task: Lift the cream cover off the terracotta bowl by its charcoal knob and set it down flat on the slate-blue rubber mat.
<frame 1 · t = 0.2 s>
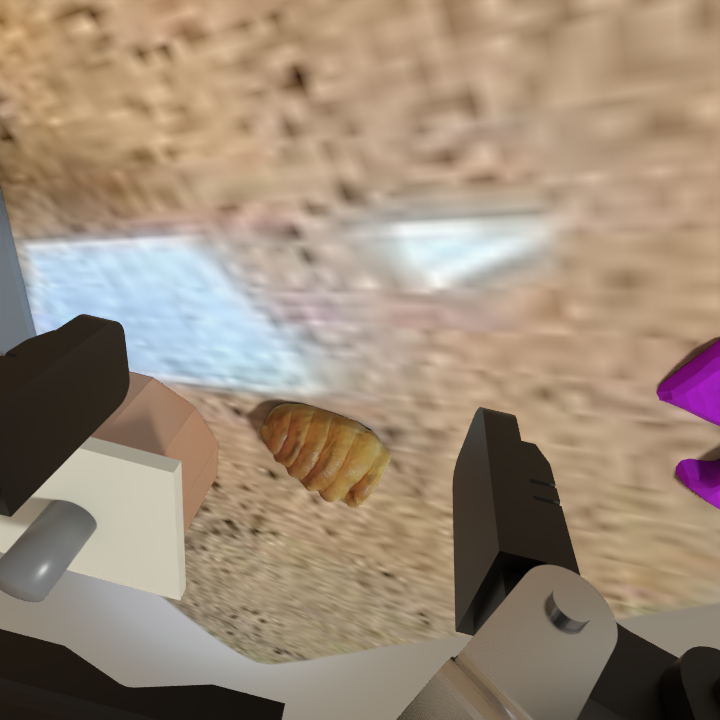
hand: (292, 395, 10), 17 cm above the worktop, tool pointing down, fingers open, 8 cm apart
pastry: (333, 441, 36), on the worktop
bowl: (136, 437, 39), on the worktop
cover: (81, 505, 33), point 7 cm above the worktop, touching bowl
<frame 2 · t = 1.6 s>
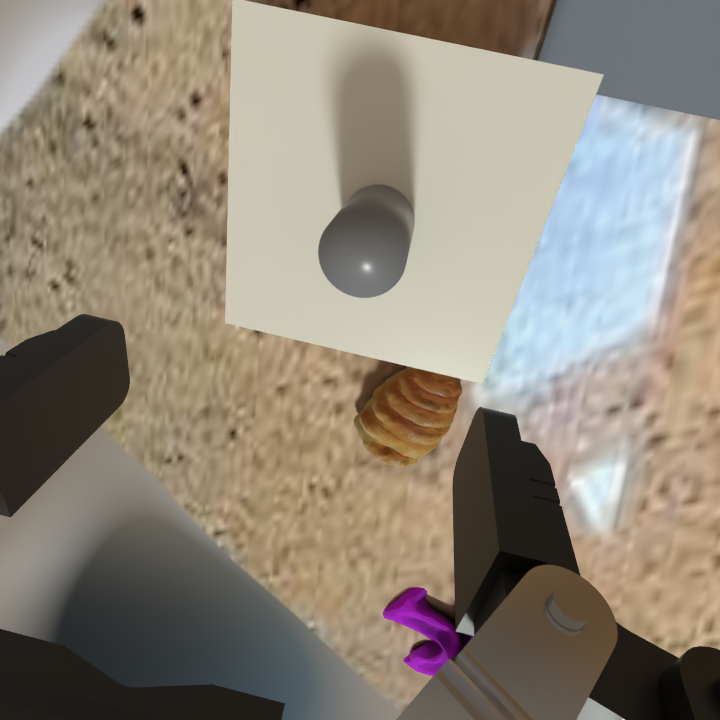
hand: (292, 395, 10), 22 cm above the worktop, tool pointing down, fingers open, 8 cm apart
pastry: (407, 401, 38), on the worktop
cloth: (476, 623, 53), on the worktop
cover: (380, 217, 23), point 7 cm above the worktop, touching bowl
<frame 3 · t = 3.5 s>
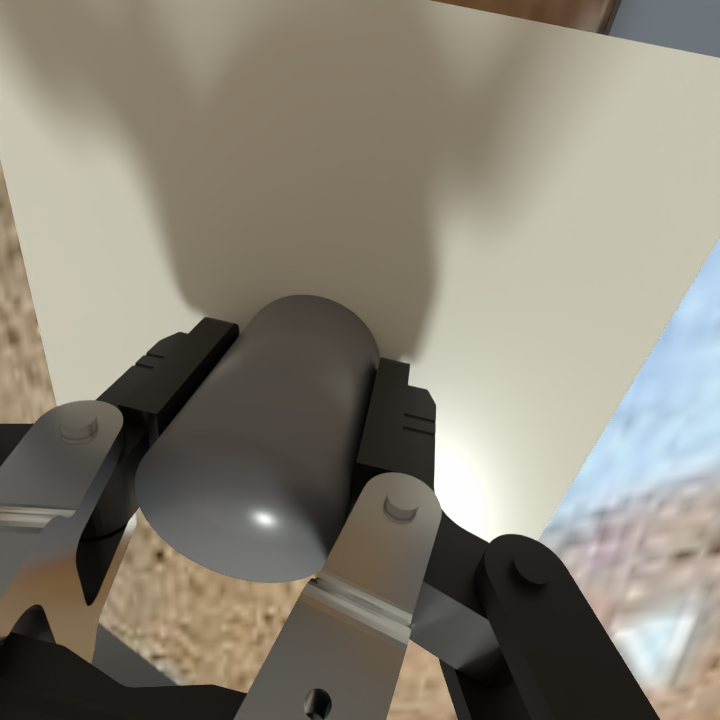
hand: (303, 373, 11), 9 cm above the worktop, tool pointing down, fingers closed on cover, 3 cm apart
cover: (320, 339, 13), point 7 cm above the worktop, touching bowl, gripper
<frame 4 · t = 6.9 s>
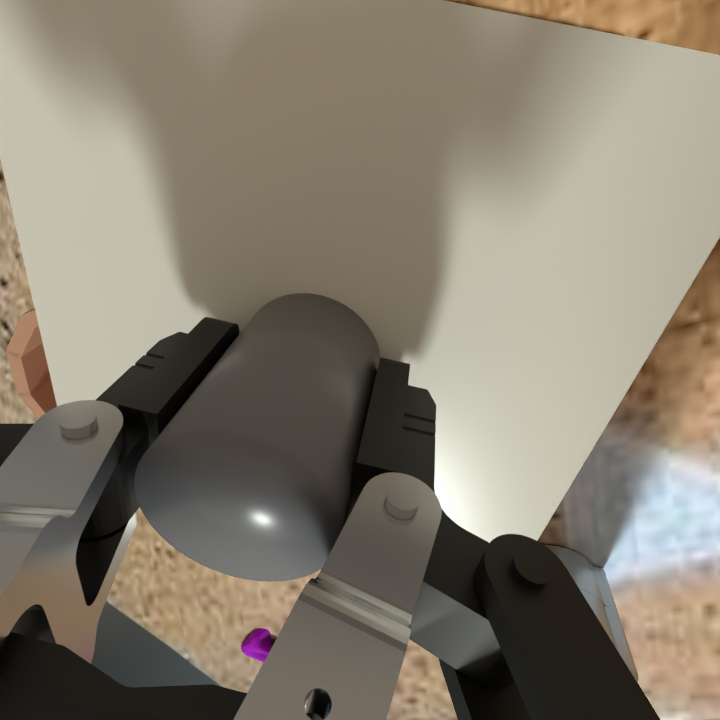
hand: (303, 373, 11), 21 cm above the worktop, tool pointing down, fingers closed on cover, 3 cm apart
bowl: (159, 346, 38), on the worktop
cloth: (319, 656, 62), on the worktop
cover: (320, 338, 13), point 19 cm above the worktop, touching gripper
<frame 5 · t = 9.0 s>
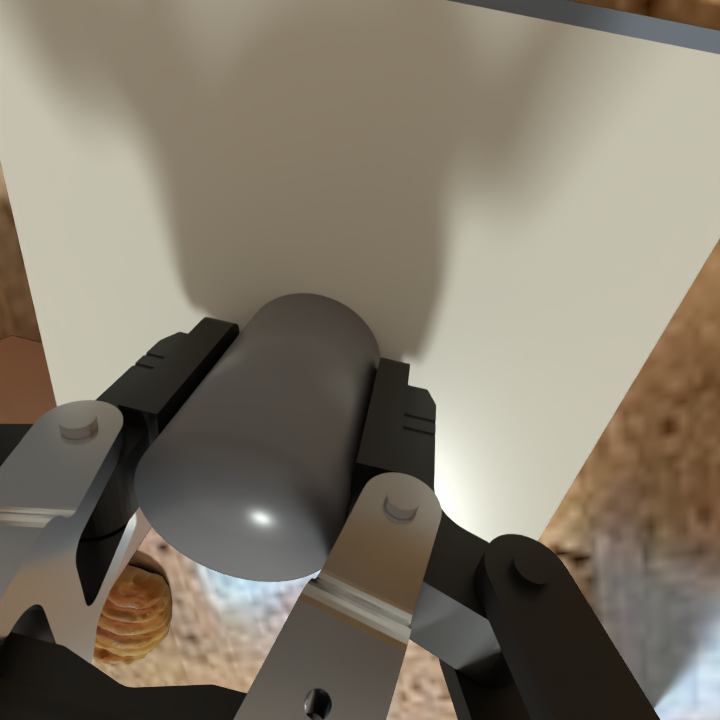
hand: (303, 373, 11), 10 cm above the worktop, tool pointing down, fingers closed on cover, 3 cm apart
pastry: (136, 592, 37), on the worktop
bowl: (66, 440, 29), on the worktop
mat: (368, 248, 19), on the worktop
cover: (320, 338, 13), point 8 cm above the worktop, touching gripper
when the fingers open (4 cm above the worktop, at t = 10.5 s): cover drops 1 cm, resting on mat.
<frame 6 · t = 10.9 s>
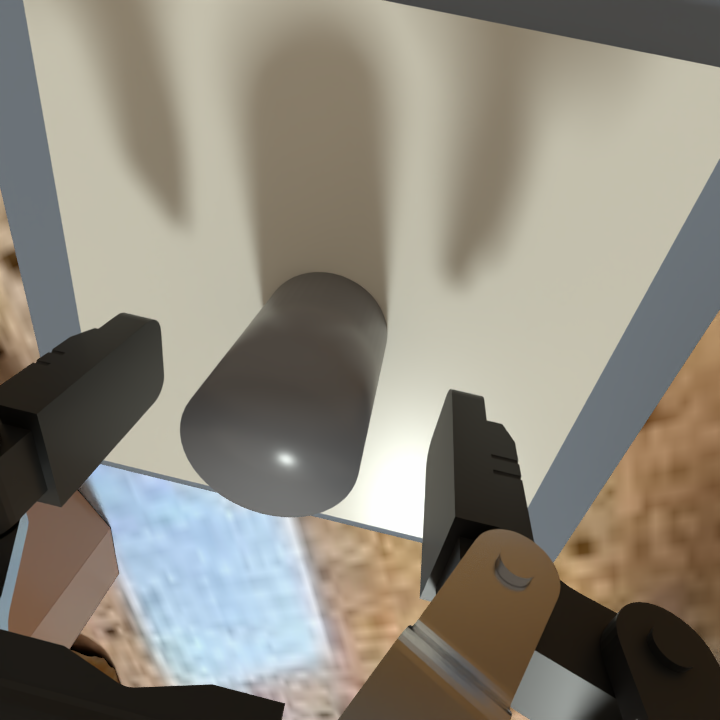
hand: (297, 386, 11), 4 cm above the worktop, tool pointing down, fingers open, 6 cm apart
pastry: (81, 671, 33), on the worktop
mat: (334, 307, 14), on the worktop
cover: (332, 315, 14), point 1 cm above the worktop, touching mat
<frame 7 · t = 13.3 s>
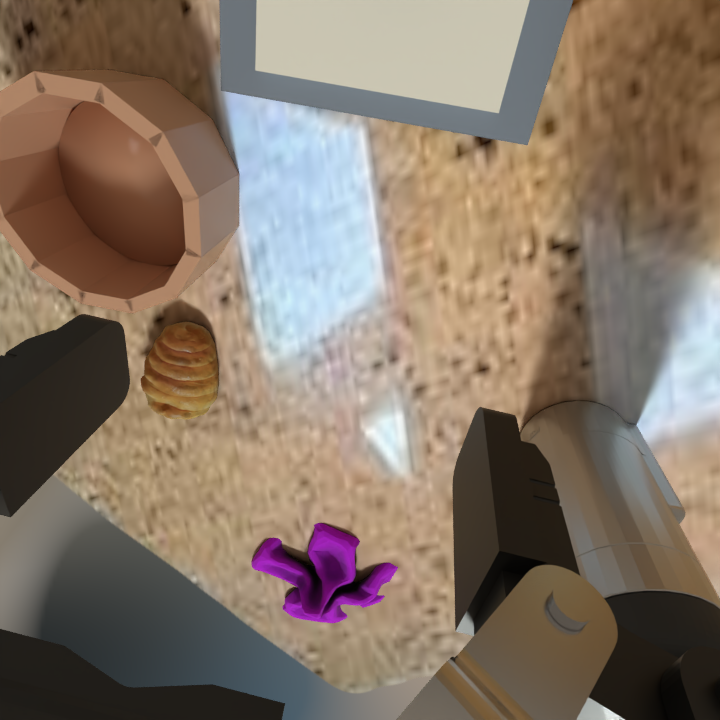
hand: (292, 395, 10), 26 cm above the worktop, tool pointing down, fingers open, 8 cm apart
pastry: (187, 364, 44), on the worktop
bowl: (147, 183, 35), on the worktop
cloth: (334, 569, 59), on the worktop
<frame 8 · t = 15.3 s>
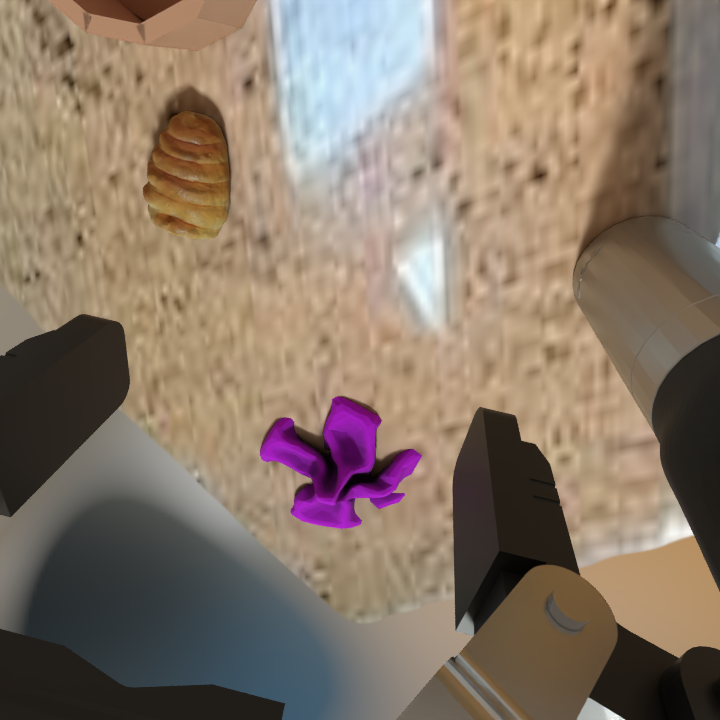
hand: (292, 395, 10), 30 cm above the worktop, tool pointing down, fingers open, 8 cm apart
pastry: (195, 180, 39), on the worktop
cloth: (350, 461, 54), on the worktop
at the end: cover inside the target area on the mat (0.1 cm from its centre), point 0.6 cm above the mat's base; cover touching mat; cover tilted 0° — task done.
